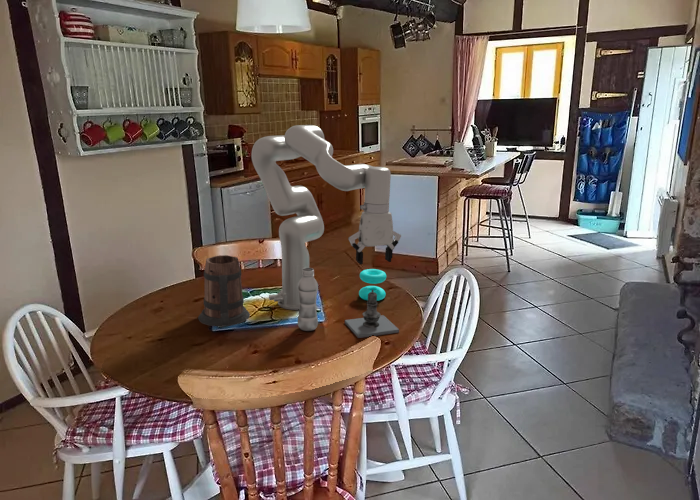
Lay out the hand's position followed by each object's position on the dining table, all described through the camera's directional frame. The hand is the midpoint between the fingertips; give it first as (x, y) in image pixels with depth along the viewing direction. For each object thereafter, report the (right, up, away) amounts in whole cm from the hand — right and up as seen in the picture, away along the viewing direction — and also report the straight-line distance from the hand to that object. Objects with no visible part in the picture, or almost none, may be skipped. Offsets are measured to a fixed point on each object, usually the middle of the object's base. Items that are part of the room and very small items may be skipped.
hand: (374, 261), depth 162 cm
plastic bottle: (-21, -22, +4) cm, 30 cm away
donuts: (+1, -14, +32) cm, 35 cm away
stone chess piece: (-1, -21, +6) cm, 21 cm away
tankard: (-49, -19, +9) cm, 53 cm away
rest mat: (-1, -21, +6) cm, 22 cm away
